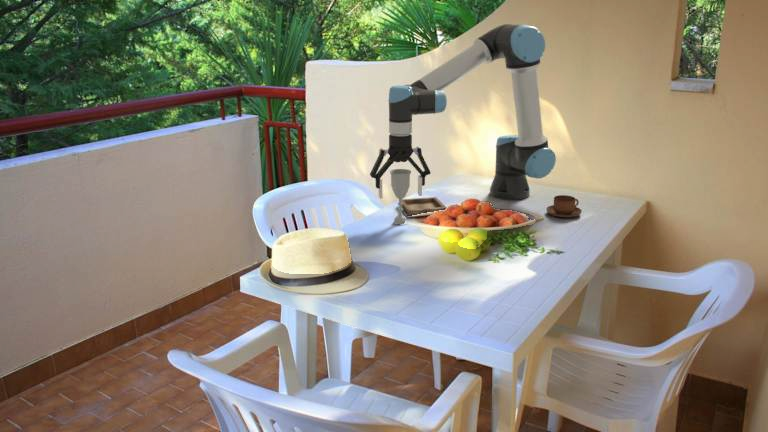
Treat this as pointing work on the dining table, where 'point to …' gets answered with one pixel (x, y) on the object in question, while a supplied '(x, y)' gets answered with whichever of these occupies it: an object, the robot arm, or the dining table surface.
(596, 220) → the dining table surface
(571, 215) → the cup and saucer
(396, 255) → the dining table surface
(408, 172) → the chalice
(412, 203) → the tray
